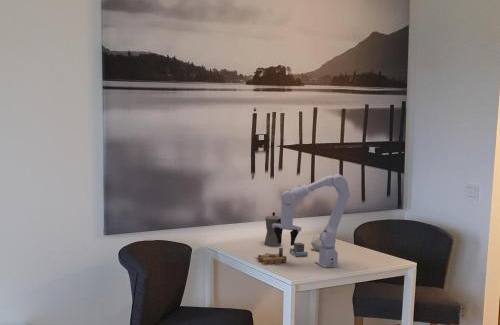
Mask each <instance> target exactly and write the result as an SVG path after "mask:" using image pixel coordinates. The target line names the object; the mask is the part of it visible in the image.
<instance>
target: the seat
mask: <svg viewBox="0 0 500 325" xmlns="http://www.w3.org/2000/svg"><path fill="white" fill-rule="evenodd" d="M289 254H291V255H292V257H293V256H294V257H295V258H307V257H308V255H309V254H308V252H307V251H304V252H296V254H295V253H294V247H292V248H289Z"/></svg>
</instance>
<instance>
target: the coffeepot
mask: <svg viewBox="0 0 500 325" xmlns="http://www.w3.org/2000/svg"><path fill="white" fill-rule="evenodd" d="M271 214H272V215H267V216H266V217H264V220H265V228H266V233H265V234H266V235H265V240H264V246H266V247H270V248H271V247H272V248H273V247H276V248H277V247H280V246H282V242H281V243H280V244H278V240H277V236H276V234H275V232H274V229H275V228H272V224H274V223H275V224H281V216H278V215H276V212H272V213H271Z"/></svg>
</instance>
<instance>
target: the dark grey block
mask: <svg viewBox="0 0 500 325" xmlns="http://www.w3.org/2000/svg"><path fill="white" fill-rule="evenodd" d="M293 248H294V253H295V254H296V252H305V244H304V243H302V242H294V245H293Z"/></svg>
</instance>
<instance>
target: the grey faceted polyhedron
mask: <svg viewBox="0 0 500 325" xmlns="http://www.w3.org/2000/svg"><path fill="white" fill-rule="evenodd" d="M320 244H321V240H320V235H318V234H317V235H316V234H315V235H313V238H312V240H311V243H310V245H311V247H312V249H313V251H315V252H316V251H318V252H320Z"/></svg>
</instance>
